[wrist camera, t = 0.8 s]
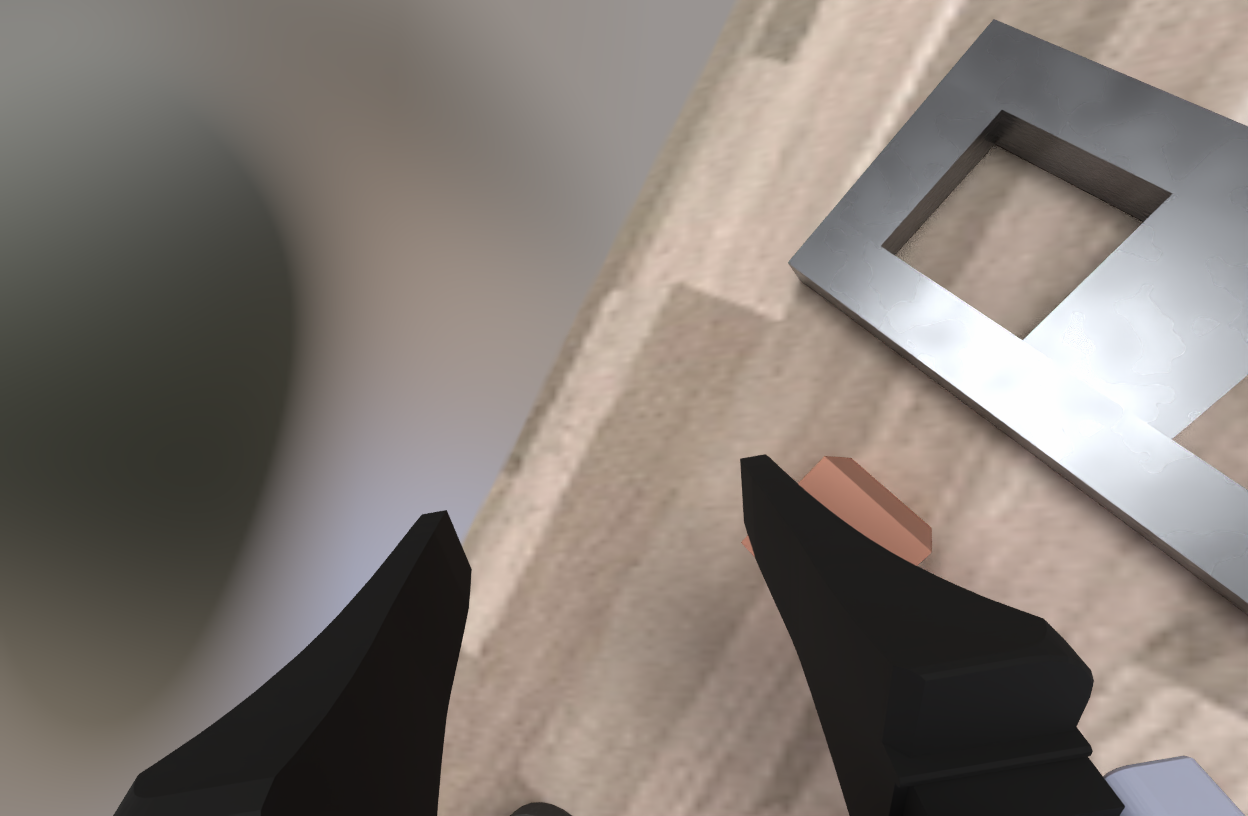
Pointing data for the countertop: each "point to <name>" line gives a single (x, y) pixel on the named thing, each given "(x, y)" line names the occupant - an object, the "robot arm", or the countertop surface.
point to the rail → (1098, 308)
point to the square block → (867, 508)
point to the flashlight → (539, 810)
